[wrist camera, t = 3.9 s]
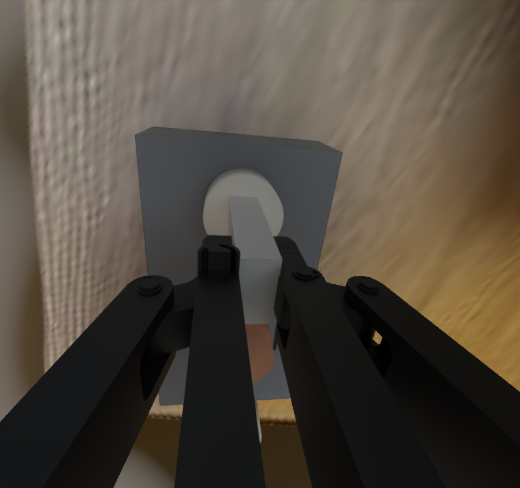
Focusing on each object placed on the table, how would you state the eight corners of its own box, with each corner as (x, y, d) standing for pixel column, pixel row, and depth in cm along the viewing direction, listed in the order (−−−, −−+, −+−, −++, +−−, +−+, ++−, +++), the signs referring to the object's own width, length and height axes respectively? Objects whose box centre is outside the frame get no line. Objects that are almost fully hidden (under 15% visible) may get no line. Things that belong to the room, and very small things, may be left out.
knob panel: (317, 141, 22) (342, 152, 17) (279, 357, 32) (289, 398, 28) (153, 126, 20) (134, 135, 16) (168, 360, 30) (159, 405, 26)
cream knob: (267, 155, 22) (288, 181, 15) (261, 210, 24) (278, 254, 17) (208, 151, 21) (203, 175, 14) (207, 208, 23) (202, 252, 16)
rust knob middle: (261, 265, 23) (278, 332, 16) (256, 309, 25) (270, 385, 18) (205, 264, 22) (199, 334, 16) (204, 309, 24) (199, 388, 18)
